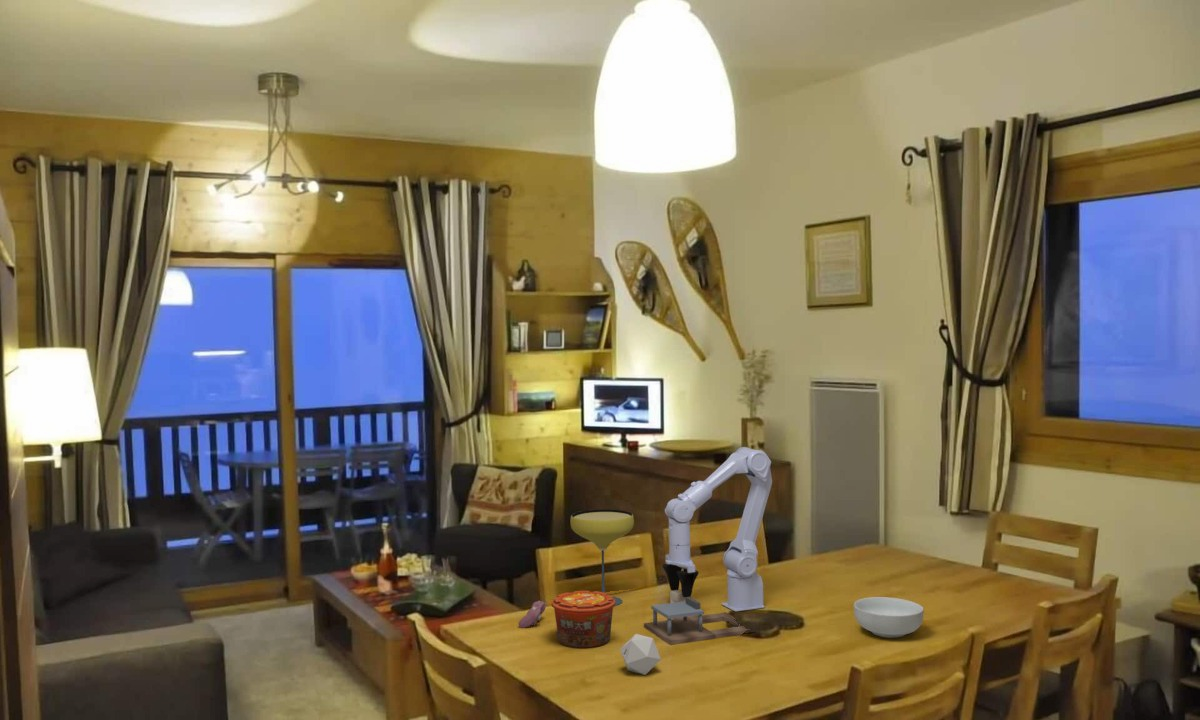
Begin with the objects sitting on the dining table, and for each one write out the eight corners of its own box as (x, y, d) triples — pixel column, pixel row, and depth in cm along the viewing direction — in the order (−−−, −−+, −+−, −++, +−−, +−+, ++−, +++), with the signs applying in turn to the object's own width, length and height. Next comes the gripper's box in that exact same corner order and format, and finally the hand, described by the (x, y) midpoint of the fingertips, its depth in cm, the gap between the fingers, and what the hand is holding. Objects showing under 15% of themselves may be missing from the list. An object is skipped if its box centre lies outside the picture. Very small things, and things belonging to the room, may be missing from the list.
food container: (594, 654, 233) (593, 610, 233) (539, 644, 242) (538, 601, 241) (628, 636, 247) (627, 594, 246) (575, 627, 255) (574, 586, 255)
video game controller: (531, 635, 254) (542, 611, 254) (516, 626, 255) (527, 603, 254) (540, 623, 264) (551, 601, 263) (526, 615, 265) (536, 593, 264)
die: (627, 665, 227) (609, 639, 222) (658, 646, 227) (642, 619, 223) (638, 689, 220) (620, 662, 215) (671, 669, 220) (654, 641, 216)
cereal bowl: (887, 648, 235) (886, 618, 234) (840, 629, 249) (839, 602, 249) (938, 636, 242) (938, 608, 242) (890, 619, 257) (889, 593, 257)
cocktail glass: (561, 607, 274) (560, 518, 273) (586, 591, 291) (585, 507, 290) (621, 613, 267) (620, 522, 266) (644, 596, 284) (642, 510, 283)
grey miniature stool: (686, 619, 255) (686, 595, 255) (704, 629, 246) (703, 604, 246) (651, 624, 252) (651, 599, 252) (668, 634, 243) (667, 609, 242)
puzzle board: (725, 616, 263) (725, 612, 263) (755, 632, 248) (755, 628, 248) (643, 627, 254) (643, 623, 254) (670, 644, 239) (670, 640, 239)
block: (683, 607, 268) (683, 589, 268) (690, 611, 265) (689, 592, 265) (670, 609, 267) (670, 590, 267) (676, 612, 263) (676, 594, 263)
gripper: (655, 539, 271) (656, 588, 271) (677, 550, 257) (678, 601, 258) (678, 537, 273) (679, 585, 274) (701, 547, 260) (702, 598, 260)
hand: (680, 593), depth 266 cm, fingers open, 7 cm apart
